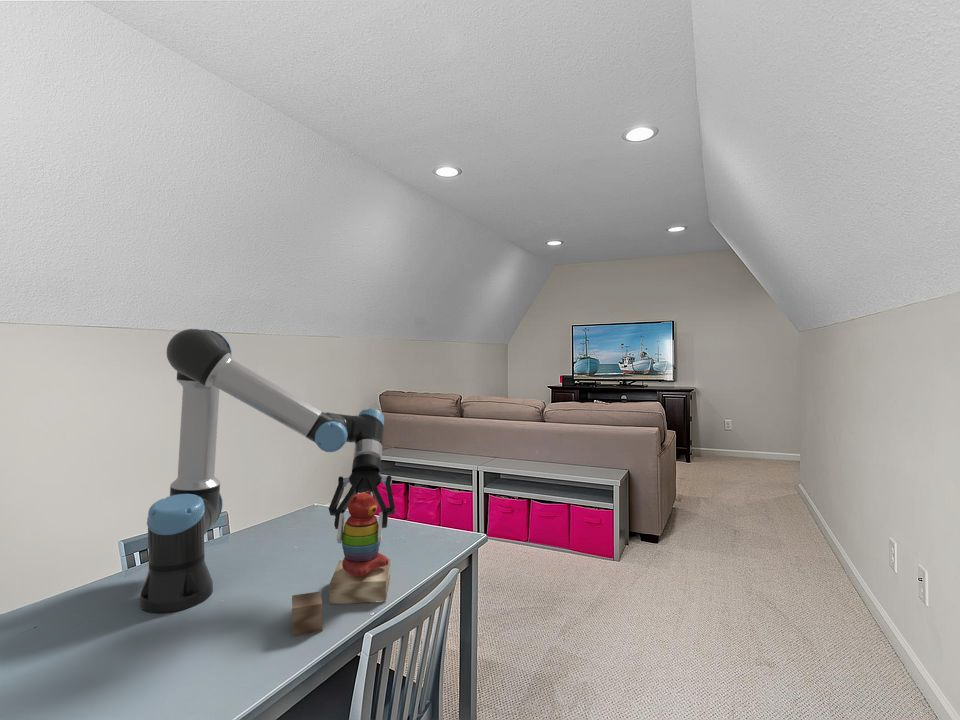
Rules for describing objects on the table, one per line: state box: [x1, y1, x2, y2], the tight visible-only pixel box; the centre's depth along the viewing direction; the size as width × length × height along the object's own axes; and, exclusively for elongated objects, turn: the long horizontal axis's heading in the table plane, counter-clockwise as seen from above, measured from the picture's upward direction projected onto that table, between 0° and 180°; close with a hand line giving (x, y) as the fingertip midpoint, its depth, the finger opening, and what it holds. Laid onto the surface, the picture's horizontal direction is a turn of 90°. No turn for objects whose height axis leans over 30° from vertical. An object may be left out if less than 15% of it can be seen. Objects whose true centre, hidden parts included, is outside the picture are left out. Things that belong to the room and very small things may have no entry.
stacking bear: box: [341, 491, 389, 576], centre depth 130 cm, size 11×10×18 cm
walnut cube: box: [291, 591, 323, 637], centre depth 113 cm, size 6×6×6 cm
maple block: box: [329, 558, 391, 605], centre depth 130 cm, size 13×13×5 cm
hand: (359, 540), depth 127 cm, fingers closed on stacking bear, 9 cm apart
